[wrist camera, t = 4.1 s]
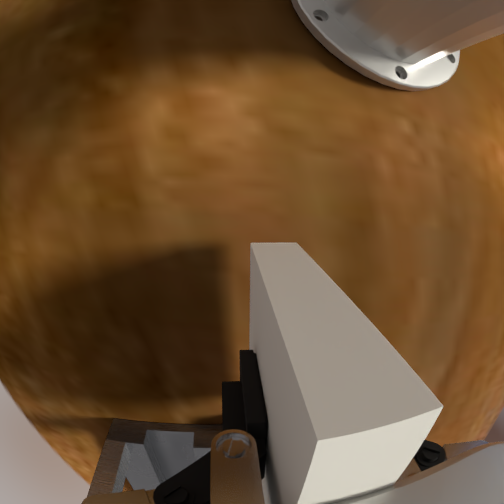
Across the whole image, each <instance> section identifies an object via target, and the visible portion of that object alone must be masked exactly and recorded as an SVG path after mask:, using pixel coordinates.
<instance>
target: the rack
mask: <svg viewBox="0 0 504 504" xmlns="http://www.w3.org/2000/svg"><path fill="white" fill-rule="evenodd" d="M222 431H223V424H221V425H193V424H167V423H153V422H141V421H132V420H123V419H115V418H114V419H113V422H112V424H111V427H110V430H109V432H108V435H107V438H106V441H105V444H104V446H103V449H102V452H101V455H100V458H99V461H98V464H97V467H96V470H95V473H94V476H93V479H92V482H91V486H90V489H89V492H88V495H87V497H88V496H92V495H98V494H109V493H118V492H122V490H123V486H124V482H125V477H126V478H127V479H128V481H129V483H130V484H131V486H132V488H133V489H134V490H139V489H145V491H147V490H153V489H156V487H157V486H159V485H160V484H161V483H162V482H164V481H166V480H167V479H169V478H171V477H172V476H174V475H175V474H177V473H178V472H180V471H182V470H183V469H185V468H186V467H188V466H189V465H191V464H192V463H194V462H195V461H197V460H198V459H200V458H201V457H202V456H204V455H205V454H207V453H208V452H210V451H211V442H212V440H213V438H214V437H215V436H216V435H217V434H219V433H220V432H222Z"/></svg>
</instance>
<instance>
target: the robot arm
mask: <svg viewBox="0 0 504 504" xmlns="http://www.w3.org/2000/svg"><path fill="white" fill-rule="evenodd" d="M291 1H292V4H293V7H294V9H295V10H296V12H297V14H298V16H299V17H300V19H301V21H302V22H303V24H304V25H305V26H306V27H307V28H308V30H309V31H310V32H311V33H312V35H313V36H314V37H315V38H316V39H317V40H318V41H319V42H320V43H321V44H322V45H323V46H324V47H325V48H326V49H327V50H328V51H329V52H331V53H332V54H333V55H335V56H336V57H337V58H339V59H340V60H341V61H342V62H344V63H345V64H346V65H348V66H349V67H351V68H353V69H354V70H356V71H358V72H359V73H361V74H362V75H364V76H366V77H368V78H370V79H372V80H374V81H377V82H379V83H381V84H383V85H386V86H390V87H393V88H396V89H400V90H408V91H422V90H428V89H431V88H434V87H437V86H440V85H442V84H443V83H445V82H447V81H448V80H449V79H450V78H451V77H452V76H453V74H454V73H455V71H456V69H457V67H458V64H459V55H460V50H461V49H464V48H466V47H469V46H471V45H474V44H476V43H479V42H481V41H484V40H487V39H489V38H492V37H495V36H497V35H500V34H503V33H504V0H291ZM222 417H223V431H222V432H220V433H219V434H217V435H216V436H215V437H214V438H213V440H212V442H211V451H210V452H208V453H207V454H205V455H204V456H202V457H201V458H200V459H198V460H197V461H195V462H194V463H192V464H191V465H189V466H188V467H186V468H185V469H183V470H182V471H180V472H178V473H177V474H175V475H174V476H172V477H171V478H169V479H167V480H166V481H164V482H162V483H161V484H160V485H159V486H157V487H156V489H153V490H147V491H145V489H139V490H133V491H126V492H118V493H109V494H98V495H92V496H88V497H87V498H86V499H84V501H83V502H82V504H265V501H264V494H263V487H262V479H263V478H264V477H265V466H266V455H267V451H266V446H267V434H268V417H267V411H266V405H265V400H264V394H263V389H262V383H261V378H260V372H259V366H258V361H257V355H256V353H254V351H253V350H240V381H232V382H222ZM330 504H504V442H493V443H488V442H486V441H484V440H478V441H471V442H463V443H454V444H444V446H443V447H441V446H440V445H438V444H436V443H434V442H430V441H427V440H424V441H423V443H422V445H421V446H420V448H419V449H418V451H417V452H416V454H415V455H414V457H413V458H412V460H411V461H410V463H409V464H408V466H407V467H406V469H405V470H404V471H403V473H402V474H401V476H400V477H399V478H398V480H397V481H396V482H395V483H394V485H393V486H390V487H387V488H384V489H381V490H378V491H375V492H372V493H368V494H365V495H362V496H358V497H355V498H351V499H347V500H343V501H339V502H335V503H330Z"/></svg>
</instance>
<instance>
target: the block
mask: <svg viewBox="0 0 504 504" xmlns="http://www.w3.org/2000/svg"><path fill="white" fill-rule="evenodd" d="M250 350H253V351H254V353H256V355H257V361H258V366H259V372H260V378H261V383H262V389H263V394H264V400H265V405H266V411H267V417H268V434H267V446H266V451H267V455H266V466H265V477H264V478H263V479H262V487H263V494H264V501H265V504H330V503H335V502H339V501H343V500H347V499H351V498H355V497H358V496H362V495H365V494H368V493H372V492H375V491H378V490H381V489H384V488H387V487H390V486H393V485H394V483H395V482H396V481H397V480H398V478H399V477H400V476H401V474H402V473H403V471H404V470H405V469H406V467H407V466H408V464H409V463H410V461H411V460H412V458H413V457H414V455H415V454H416V452H417V451H418V449H419V448H420V446H421V445H422V443H423V441H424V440H425V438H426V437H427V435H428V433H429V432H430V430H431V428H432V426H433V425H434V423H435V421H436V419H437V417H438V416H439V414H440V412H441V410H442V408H443V405H442V404H441V403H440V401H439V400H438V399H437V398H436V396H435V395H434V394H433V393H432V392H431V390H430V389H429V388H428V387H427V386H426V384H425V383H424V382H423V381H422V380H421V379H420V377H419V376H418V375H417V374H416V373H415V372H414V370H413V369H412V368H411V367H410V366H409V365H408V363H407V362H406V361H405V360H404V359H403V358H402V356H401V355H400V354H399V353H398V352H397V351H396V350H395V348H394V347H393V346H392V345H391V344H390V343H389V342H388V341H387V339H386V338H385V337H384V336H383V335H382V334H381V333H380V332H379V330H378V329H377V328H376V327H375V326H374V325H373V324H372V323H371V321H370V320H369V319H368V318H367V317H366V316H365V315H364V314H363V313H362V312H361V310H360V309H359V308H358V307H357V306H356V305H355V304H354V303H353V302H352V301H351V300H350V299H349V297H348V296H347V295H346V294H345V293H344V292H343V291H342V290H341V289H340V288H339V287H338V286H337V285H336V283H335V282H334V281H333V280H332V279H331V278H330V277H329V276H328V275H327V274H326V273H325V272H324V271H323V270H322V269H321V268H320V267H319V265H318V264H317V263H316V262H315V261H314V260H313V259H312V258H311V257H310V256H309V255H308V254H307V253H306V252H305V251H304V250H303V249H302V248H301V247H300V246H299V245H298V244H297V243H251V245H250Z"/></svg>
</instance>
